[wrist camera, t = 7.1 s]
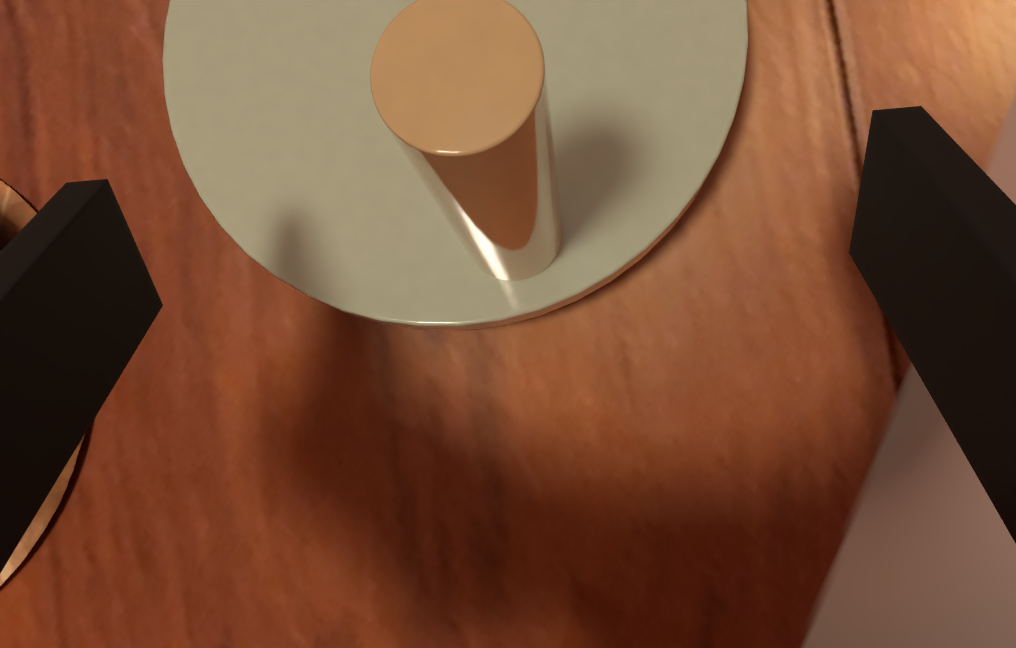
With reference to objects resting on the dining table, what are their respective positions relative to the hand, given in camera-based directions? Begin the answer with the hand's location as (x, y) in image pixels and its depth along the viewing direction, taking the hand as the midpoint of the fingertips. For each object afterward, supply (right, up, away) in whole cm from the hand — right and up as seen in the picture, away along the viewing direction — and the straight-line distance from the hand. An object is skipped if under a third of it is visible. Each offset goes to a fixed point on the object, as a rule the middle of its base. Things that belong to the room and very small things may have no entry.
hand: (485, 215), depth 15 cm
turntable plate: (-1, +5, +7) cm, 9 cm away
